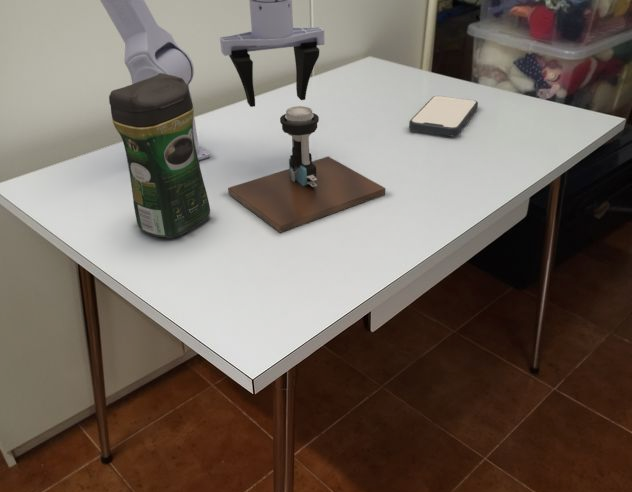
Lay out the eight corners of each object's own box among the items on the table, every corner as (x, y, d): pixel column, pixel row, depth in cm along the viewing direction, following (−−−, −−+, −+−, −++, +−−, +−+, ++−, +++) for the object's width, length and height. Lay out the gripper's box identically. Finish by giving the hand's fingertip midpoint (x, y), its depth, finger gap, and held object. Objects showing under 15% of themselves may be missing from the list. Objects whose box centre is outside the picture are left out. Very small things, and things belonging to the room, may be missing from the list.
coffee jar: (179, 201, 89) (155, 64, 77) (220, 216, 86) (201, 75, 74) (127, 229, 84) (91, 85, 71) (168, 246, 80) (138, 98, 68)
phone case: (432, 103, 118) (406, 131, 107) (433, 94, 117) (406, 122, 106) (478, 109, 115) (456, 138, 104) (480, 100, 114) (458, 129, 103)
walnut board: (280, 232, 82) (279, 226, 81) (228, 194, 91) (227, 187, 90) (385, 194, 90) (385, 188, 89) (328, 162, 98) (328, 156, 98)
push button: (330, 185, 90) (330, 116, 83) (297, 194, 88) (294, 124, 82) (309, 168, 94) (307, 101, 88) (277, 176, 93) (273, 108, 86)
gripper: (312, -13, 88) (314, 86, 97) (211, -4, 85) (222, 98, 94) (329, -3, 83) (329, 101, 92) (221, 7, 80) (233, 114, 88)
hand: (276, 101), depth 92 cm, fingers open, 7 cm apart
